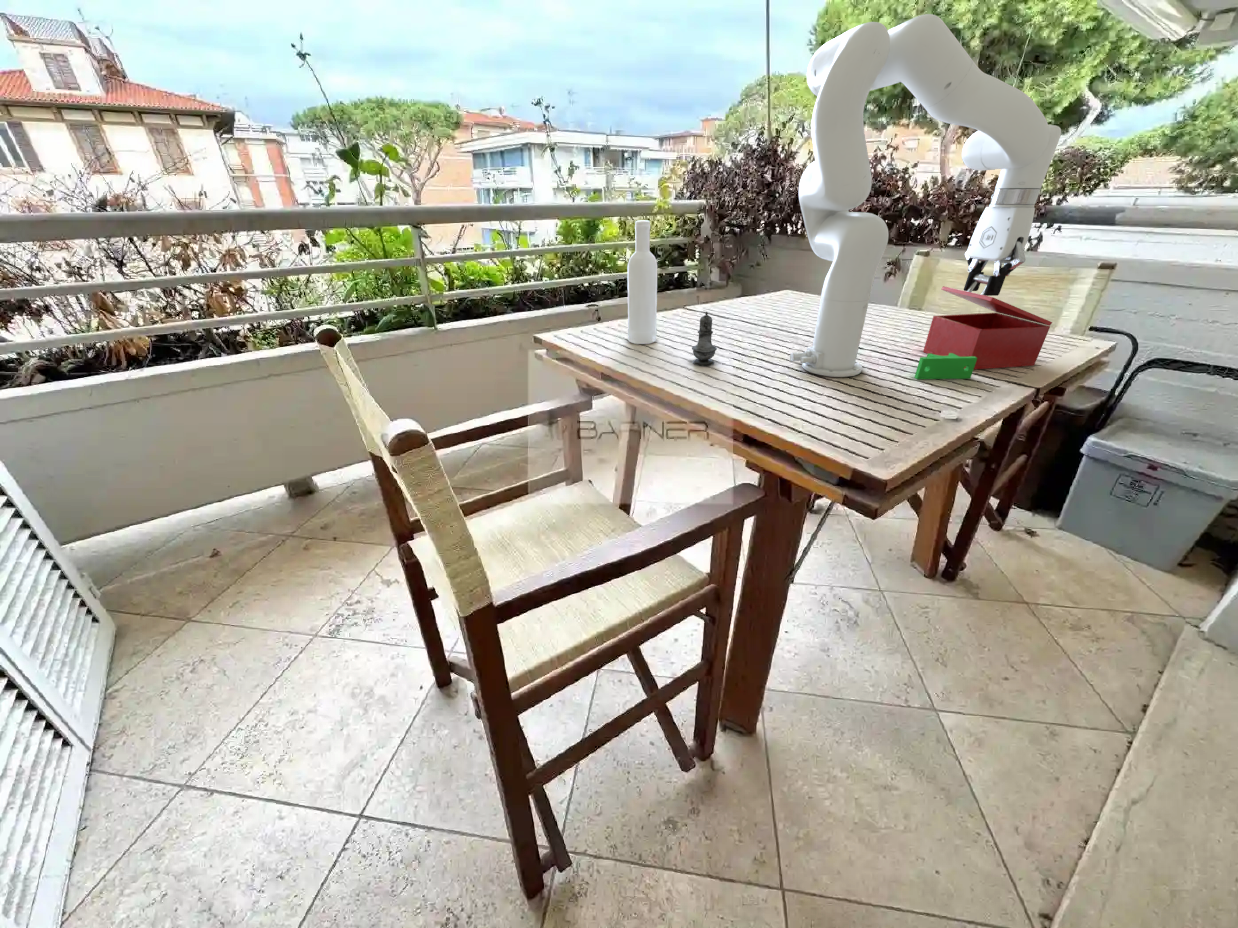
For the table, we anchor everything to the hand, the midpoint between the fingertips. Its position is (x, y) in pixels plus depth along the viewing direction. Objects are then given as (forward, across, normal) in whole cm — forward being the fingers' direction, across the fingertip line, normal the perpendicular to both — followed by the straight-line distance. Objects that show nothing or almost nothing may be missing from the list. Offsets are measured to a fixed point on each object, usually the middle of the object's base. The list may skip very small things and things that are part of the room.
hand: (980, 292), depth 107 cm
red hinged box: (+15, 0, +5) cm, 16 cm away
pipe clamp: (+16, +10, -12) cm, 22 cm away
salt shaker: (+17, -9, -59) cm, 62 cm away
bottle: (+17, -32, -70) cm, 79 cm away
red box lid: (+3, 0, +5) cm, 6 cm away
